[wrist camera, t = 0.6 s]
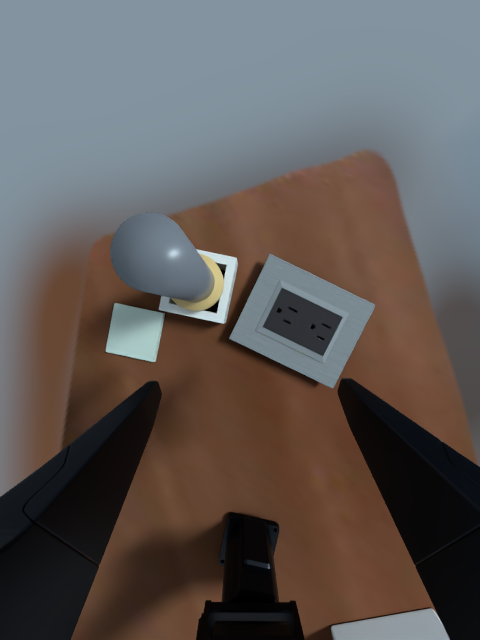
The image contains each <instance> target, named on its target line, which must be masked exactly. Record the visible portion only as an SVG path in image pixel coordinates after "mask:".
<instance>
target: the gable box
mask: <svg viewBox="0 0 480 640" xmlns="http://www.w3.org/2000/svg"><path fill="white" fill-rule="evenodd" d="M331 632H332V637H333V640H450V639H449V637H448V635H447V633H446V631H445V628H444V626H443V624H442V622H441V620H440V619H439V617H438V616H437V614H436V612H435V611H434V610H433V609H431V608H427V609H421V610H416V611H410V612H405V613H399V614H393V615H388V616H382V617H376V618H371V619H365V620H359V621H354V622H348V623H342V624H337V625H332V626H331Z"/></svg>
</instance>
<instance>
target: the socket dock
mask: <svg viewBox="0 0 480 640" xmlns="http://www.w3.org/2000/svg"><path fill="white" fill-rule="evenodd" d="M197 252H198V253H199V254H203V255H205V256H208V257H209V258H211V259H212V260H213V261H214V262H215V263H216V264H217V265H218V267H219V269H220V270H225V276H224V288H223V292H222V295H221V297H220V300H219V305H218V310H217V313H215V312H211V311H206V310H201V311H192V310H187V309H184V308H182V307H180V306H178V305H177V304H176V303H175V302H174V301H173V300H172V299H171V298H170V297H165V296H161V301H160V306H159V310H162V311H166V312H171V313H176V314H180V315H185V316H190V317H195V318H199V319H204V320H209V321H213V322H218V323H223V324H224V323H226V319H227V315H228V310H229V305H230V300H231V296H232V291H233V286H234V281H235V277H236V272H237V267H238V262H237V258H234V257H230V256H225V255H220V254H215V253H211V252H206V251H201V250H197Z"/></svg>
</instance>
